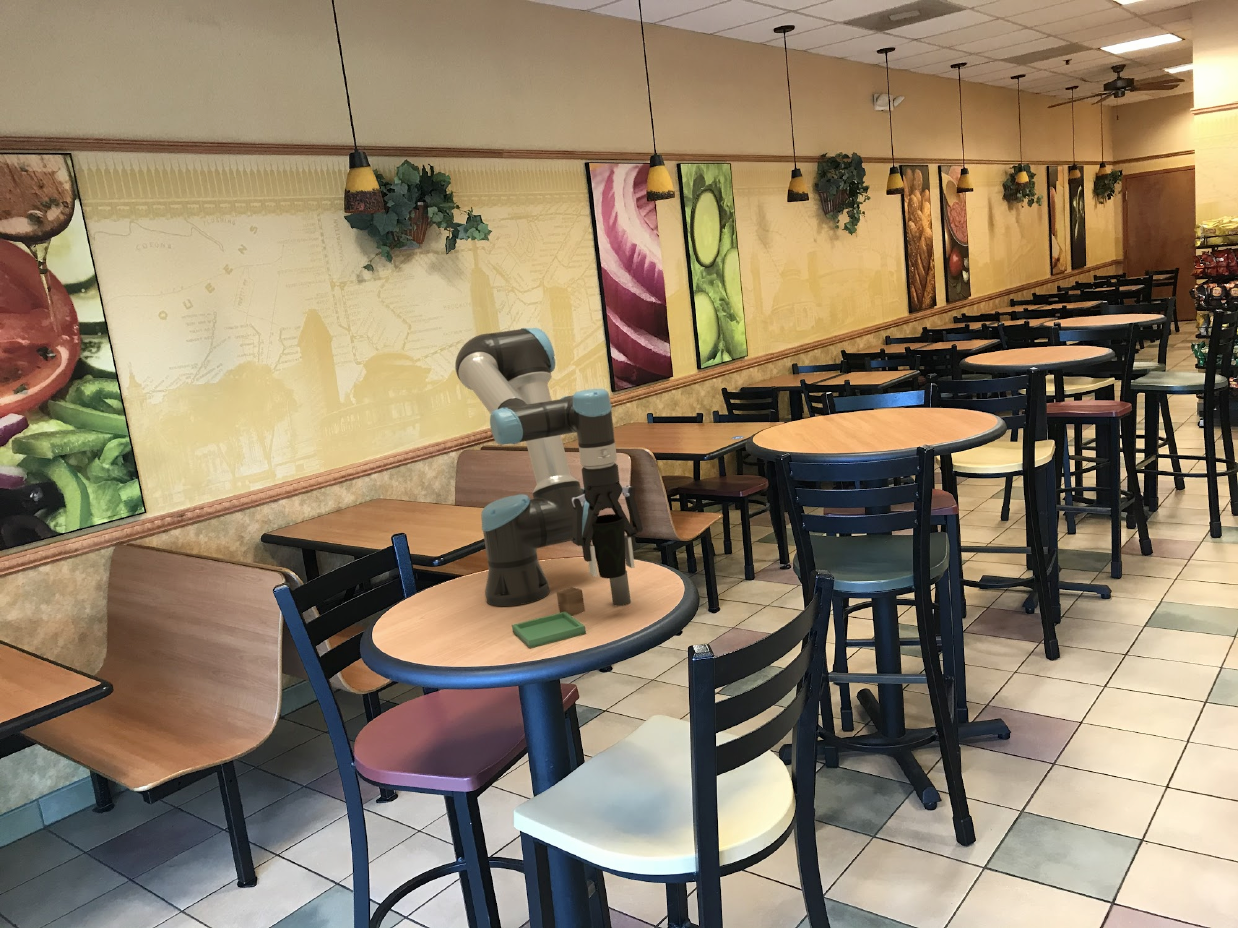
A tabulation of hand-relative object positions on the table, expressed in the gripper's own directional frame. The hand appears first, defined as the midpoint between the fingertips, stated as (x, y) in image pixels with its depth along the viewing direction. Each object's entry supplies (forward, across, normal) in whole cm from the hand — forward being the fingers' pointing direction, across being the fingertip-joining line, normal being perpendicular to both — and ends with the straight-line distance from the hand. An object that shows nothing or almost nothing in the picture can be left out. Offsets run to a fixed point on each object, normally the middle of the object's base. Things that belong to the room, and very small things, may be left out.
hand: (612, 570), depth 197 cm
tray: (+10, -16, 0) cm, 18 cm away
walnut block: (+10, -7, +9) cm, 15 cm away
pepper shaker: (+10, +4, +7) cm, 13 cm away
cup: (+1, 0, 0) cm, 1 cm away
